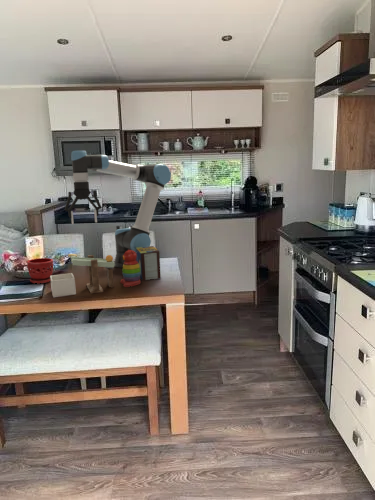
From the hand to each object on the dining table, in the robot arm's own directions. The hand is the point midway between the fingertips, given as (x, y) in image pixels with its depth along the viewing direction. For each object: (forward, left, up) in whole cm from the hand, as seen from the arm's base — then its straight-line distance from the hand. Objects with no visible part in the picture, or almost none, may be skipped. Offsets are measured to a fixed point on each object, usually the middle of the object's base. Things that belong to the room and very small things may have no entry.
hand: (84, 223), depth 201 cm
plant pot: (+24, -8, -31) cm, 40 cm away
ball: (-8, +18, -16) cm, 26 cm away
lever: (+1, +13, -19) cm, 24 cm away
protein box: (-31, +9, -31) cm, 45 cm away
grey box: (+15, +18, -31) cm, 39 cm away
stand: (-3, +18, -31) cm, 36 cm away
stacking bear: (-19, +18, -31) cm, 41 cm away
